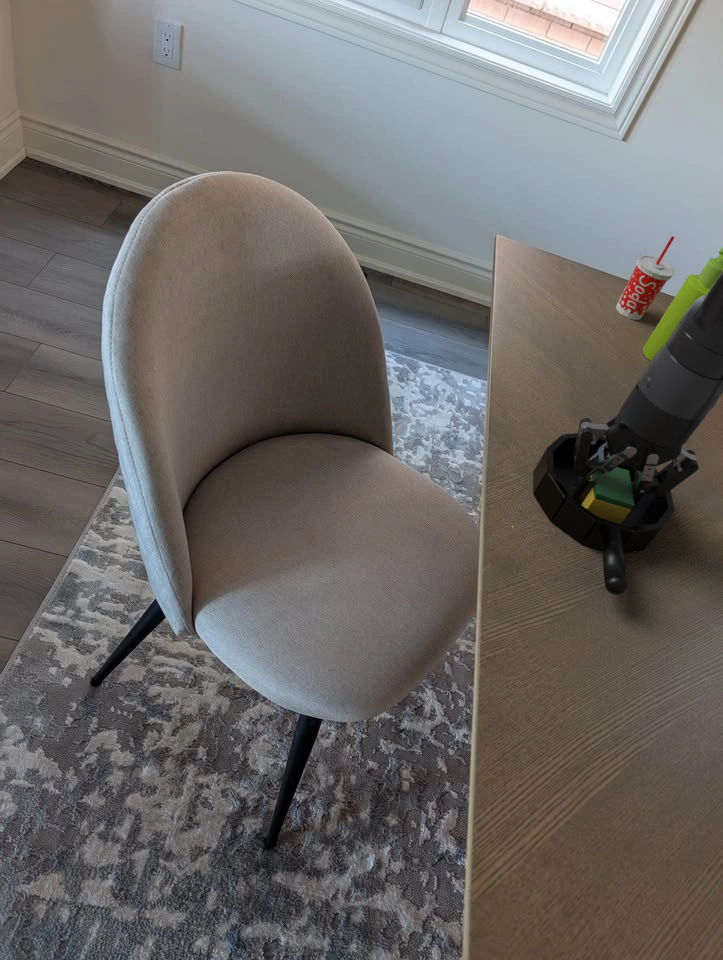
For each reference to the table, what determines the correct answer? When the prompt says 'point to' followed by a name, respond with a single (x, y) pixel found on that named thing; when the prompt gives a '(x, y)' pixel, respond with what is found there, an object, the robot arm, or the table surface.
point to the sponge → (611, 496)
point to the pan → (584, 526)
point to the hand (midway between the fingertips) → (598, 502)
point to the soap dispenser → (683, 303)
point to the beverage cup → (644, 285)
